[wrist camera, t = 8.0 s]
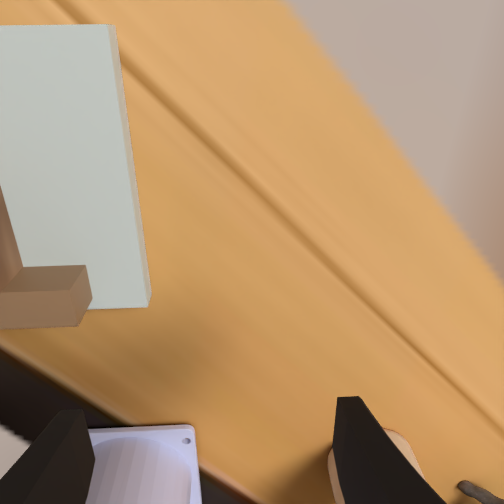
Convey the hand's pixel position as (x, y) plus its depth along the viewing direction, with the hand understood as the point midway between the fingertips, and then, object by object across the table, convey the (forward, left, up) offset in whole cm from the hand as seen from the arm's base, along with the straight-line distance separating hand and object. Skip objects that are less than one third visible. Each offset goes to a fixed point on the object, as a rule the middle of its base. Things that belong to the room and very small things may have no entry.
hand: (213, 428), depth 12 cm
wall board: (+5, +10, -10) cm, 15 cm away
